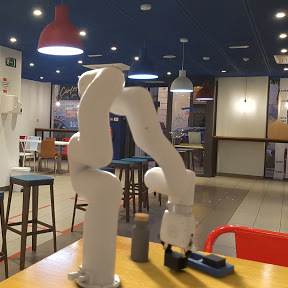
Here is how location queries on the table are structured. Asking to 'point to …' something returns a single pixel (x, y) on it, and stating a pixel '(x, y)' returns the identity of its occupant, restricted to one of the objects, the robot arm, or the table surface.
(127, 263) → the table surface
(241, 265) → the table surface
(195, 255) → the frame
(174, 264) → the pad
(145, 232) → the bottle
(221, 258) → the pad
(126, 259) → the table surface
